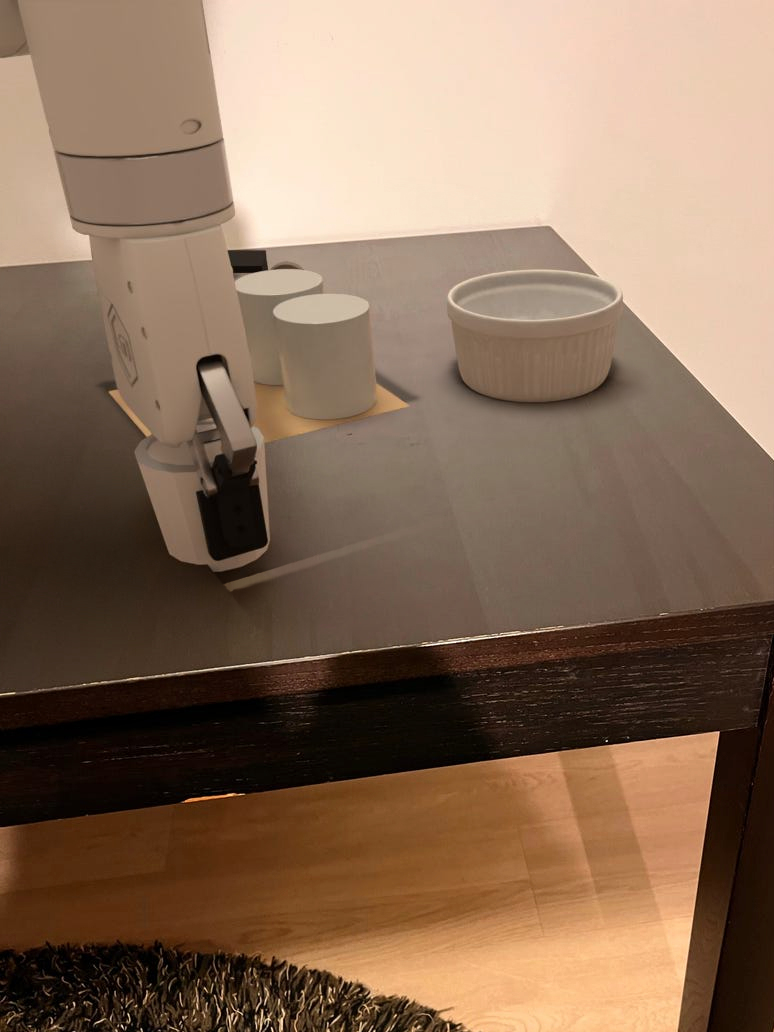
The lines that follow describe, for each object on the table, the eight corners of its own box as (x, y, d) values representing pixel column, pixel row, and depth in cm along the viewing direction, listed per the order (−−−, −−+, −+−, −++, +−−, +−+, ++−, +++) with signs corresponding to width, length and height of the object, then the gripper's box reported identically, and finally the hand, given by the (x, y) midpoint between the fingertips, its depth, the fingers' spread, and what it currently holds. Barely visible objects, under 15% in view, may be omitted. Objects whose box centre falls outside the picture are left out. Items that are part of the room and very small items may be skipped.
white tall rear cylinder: (266, 392, 77) (252, 300, 73) (234, 366, 82) (219, 278, 78) (346, 374, 80) (337, 284, 76) (311, 349, 85) (301, 264, 81)
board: (173, 474, 67) (171, 466, 67) (109, 398, 79) (107, 391, 78) (410, 413, 75) (410, 405, 74) (321, 352, 86) (320, 345, 86)
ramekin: (436, 360, 84) (432, 274, 80) (589, 346, 86) (593, 261, 82) (468, 423, 73) (465, 327, 69) (641, 404, 75) (648, 311, 71)
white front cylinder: (308, 427, 72) (295, 329, 68) (272, 397, 76) (258, 304, 72) (393, 406, 74) (386, 311, 70) (353, 378, 79) (344, 287, 75)
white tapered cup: (256, 590, 55) (236, 474, 51) (139, 581, 56) (110, 466, 52) (297, 529, 61) (281, 420, 57) (189, 522, 62) (166, 414, 58)
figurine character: (309, 332, 95) (142, 325, 92) (309, 248, 90) (134, 238, 88) (309, 357, 89) (132, 350, 87) (309, 269, 85) (123, 259, 82)
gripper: (26, 167, 52) (108, 483, 62) (119, 236, 39) (202, 615, 50) (169, 150, 55) (225, 453, 65) (297, 209, 43) (340, 571, 53)
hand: (214, 521), depth 57 cm, fingers closed on white tapered cup, 6 cm apart
